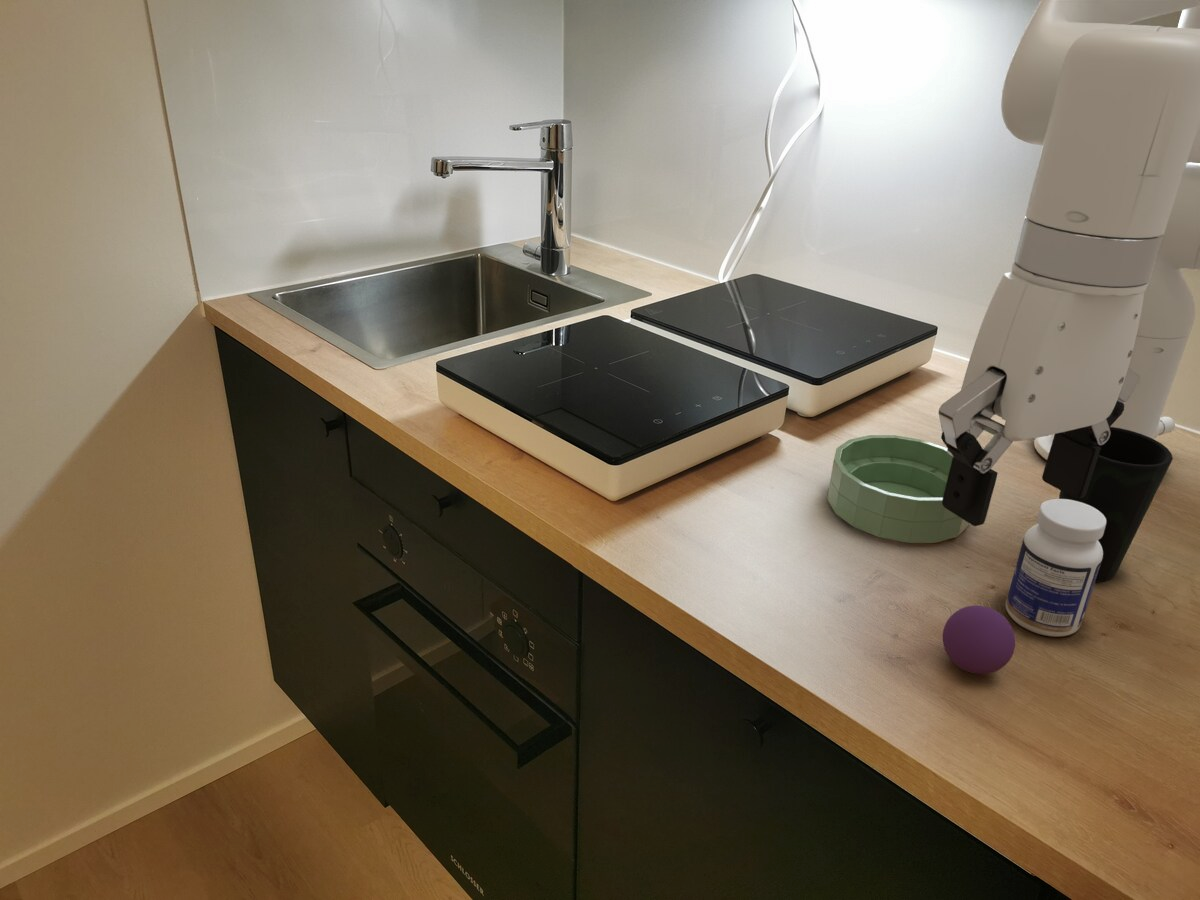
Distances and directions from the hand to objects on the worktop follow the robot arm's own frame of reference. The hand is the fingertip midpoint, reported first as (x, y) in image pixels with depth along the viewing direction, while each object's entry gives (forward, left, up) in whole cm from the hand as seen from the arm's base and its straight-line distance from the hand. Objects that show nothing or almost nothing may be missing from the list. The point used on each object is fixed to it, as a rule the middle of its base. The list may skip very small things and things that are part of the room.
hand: (1013, 502), depth 62 cm
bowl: (-11, -20, -14) cm, 27 cm away
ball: (0, 0, -12) cm, 12 cm away
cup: (-20, -6, -14) cm, 25 cm away
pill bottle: (-10, -2, -14) cm, 18 cm away
